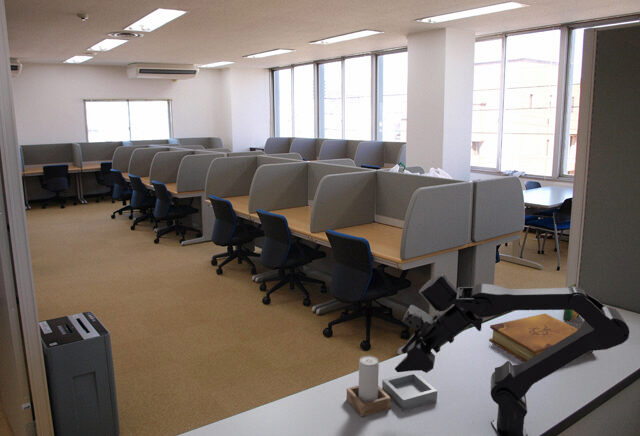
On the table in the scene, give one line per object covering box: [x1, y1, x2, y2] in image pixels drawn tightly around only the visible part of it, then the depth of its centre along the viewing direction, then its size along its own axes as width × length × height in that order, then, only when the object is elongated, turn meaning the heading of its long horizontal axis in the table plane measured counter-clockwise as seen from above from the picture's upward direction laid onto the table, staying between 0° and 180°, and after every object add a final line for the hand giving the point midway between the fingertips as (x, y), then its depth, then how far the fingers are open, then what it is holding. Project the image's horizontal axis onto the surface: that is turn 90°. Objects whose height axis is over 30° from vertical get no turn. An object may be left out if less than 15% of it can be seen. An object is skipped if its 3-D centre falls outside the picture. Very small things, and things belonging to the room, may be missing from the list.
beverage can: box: [358, 355, 380, 403], centre depth 124 cm, size 5×5×12 cm
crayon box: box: [562, 282, 580, 322], centre depth 173 cm, size 7×3×12 cm, turn 131°
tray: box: [381, 371, 438, 412], centre depth 128 cm, size 10×10×3 cm
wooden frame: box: [346, 384, 392, 417], centre depth 125 cm, size 8×8×3 cm
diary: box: [488, 313, 594, 363], centre depth 154 cm, size 23×19×6 cm
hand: (399, 360), depth 120 cm, fingers open, 9 cm apart
